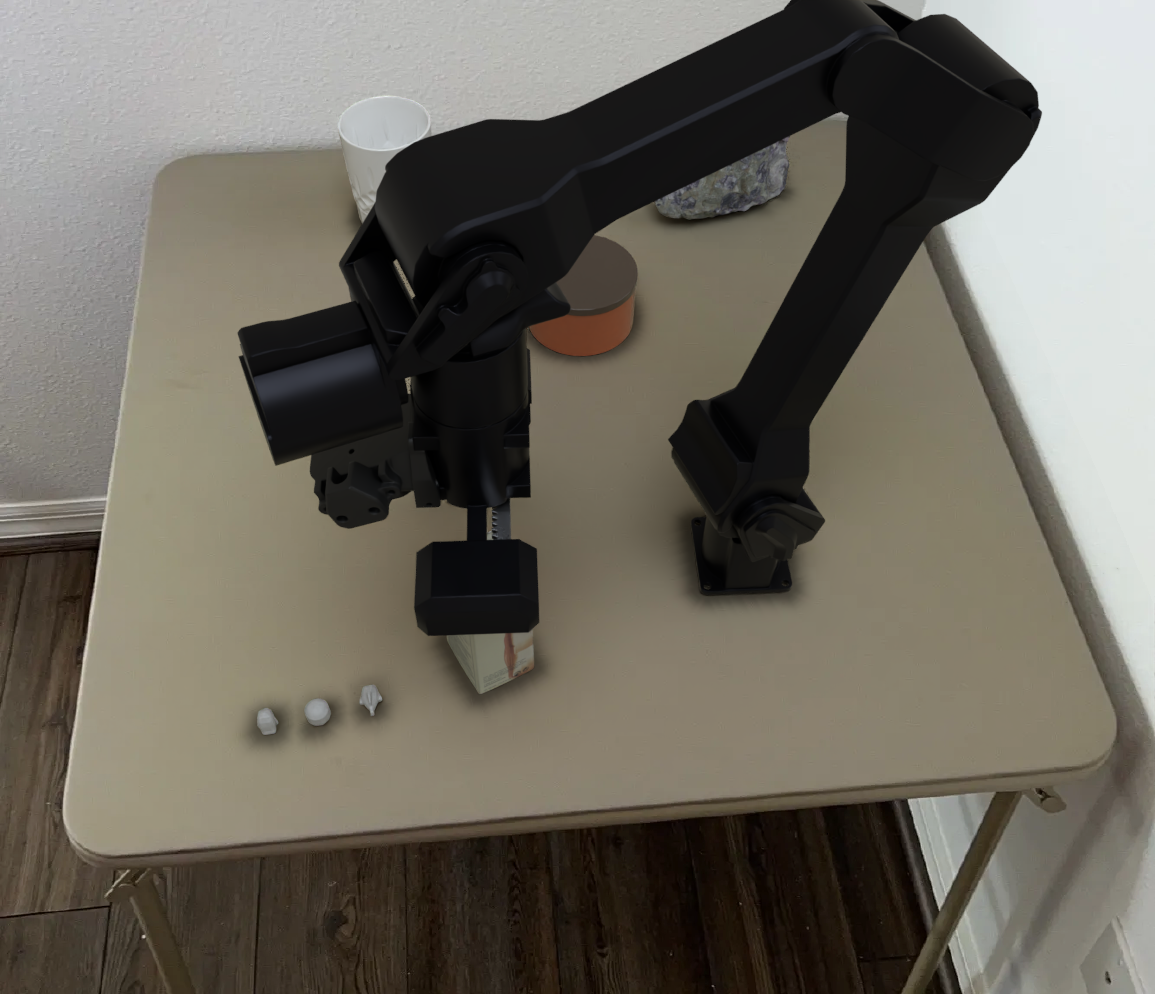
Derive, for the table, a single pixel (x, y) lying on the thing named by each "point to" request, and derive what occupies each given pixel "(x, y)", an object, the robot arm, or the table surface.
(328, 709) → the game pieces
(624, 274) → the jar
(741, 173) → the mineral rock
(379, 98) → the white cup
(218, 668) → the table surface
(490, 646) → the cream cardboard box
